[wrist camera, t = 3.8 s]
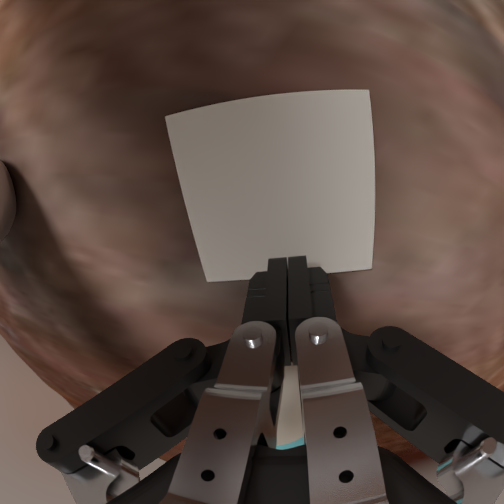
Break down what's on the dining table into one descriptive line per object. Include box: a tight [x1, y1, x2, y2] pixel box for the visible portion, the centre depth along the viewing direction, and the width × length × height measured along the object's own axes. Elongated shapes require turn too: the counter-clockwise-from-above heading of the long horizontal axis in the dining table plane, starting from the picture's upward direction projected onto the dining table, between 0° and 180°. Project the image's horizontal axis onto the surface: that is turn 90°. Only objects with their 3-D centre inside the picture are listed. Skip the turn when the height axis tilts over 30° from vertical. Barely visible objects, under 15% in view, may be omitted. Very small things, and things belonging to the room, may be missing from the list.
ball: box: [276, 362, 303, 446], centre depth 14 cm, size 6×6×6 cm
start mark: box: [165, 90, 375, 282], centre depth 11 cm, size 8×8×1 cm
